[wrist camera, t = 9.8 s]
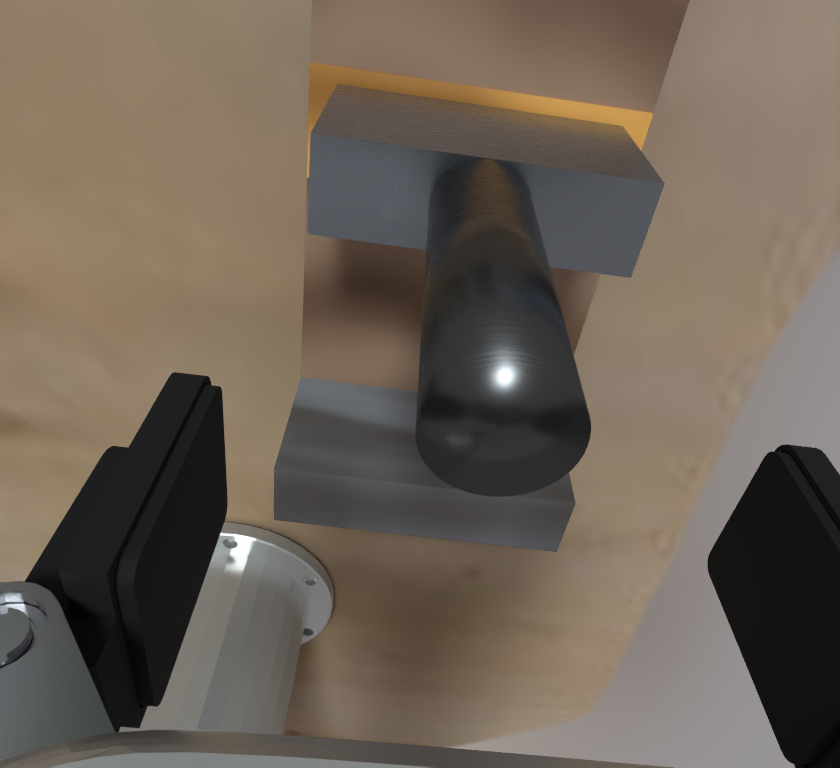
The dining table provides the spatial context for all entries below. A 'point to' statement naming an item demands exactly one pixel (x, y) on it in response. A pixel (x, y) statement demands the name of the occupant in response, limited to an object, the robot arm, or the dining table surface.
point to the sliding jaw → (486, 262)
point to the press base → (405, 267)
